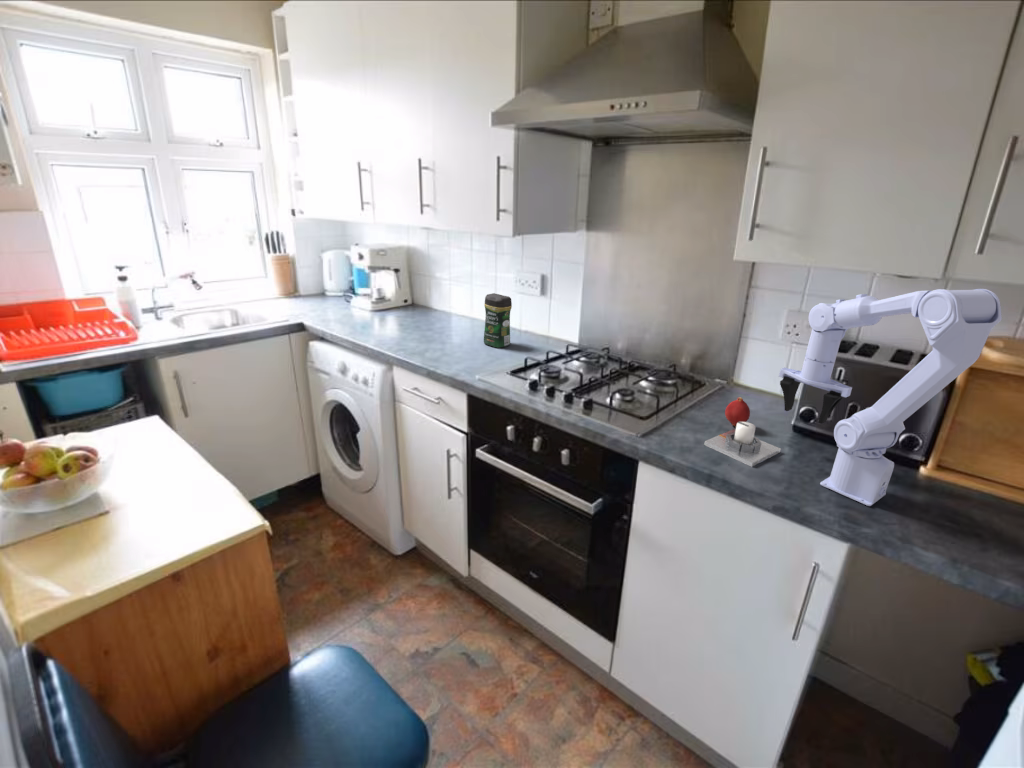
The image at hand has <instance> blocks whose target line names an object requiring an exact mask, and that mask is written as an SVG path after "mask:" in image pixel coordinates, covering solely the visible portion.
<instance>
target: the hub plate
mask: <svg viewBox="0 0 1024 768" xmlns="http://www.w3.org/2000/svg"><path fill="white" fill-rule="evenodd" d="M735 431H736V428H735V429H734V428H732V429H731V430H728V431H726V432H724V433H720V434H719V435H716V436H713V437H711V438H709V439H707V440H704V442H703V443H704V444H703V446H706V447H708V448H710V449H712V450H714V451H716V452H719V453H721V454H723V455H725V456H727V457H729V458H731V459H734V460H736V461H738V462H740V463H743V464H745V465H746V466H749V467H751V468H753V467H755V466H756V465H758V464H760V463H762V462H764V461H766V460H768V459H770V458H772V457H774V456H776V455H779V454H780V453H781V450H782V448H780V447H777V446H776V445H774V444H770V443H769V442H766V441H764V440H761V439H759V438H758V437H757V436H755V435H754V438H753V443H752V445H746V444H740V443H738V442H736V441H734V436H735Z"/></svg>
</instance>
